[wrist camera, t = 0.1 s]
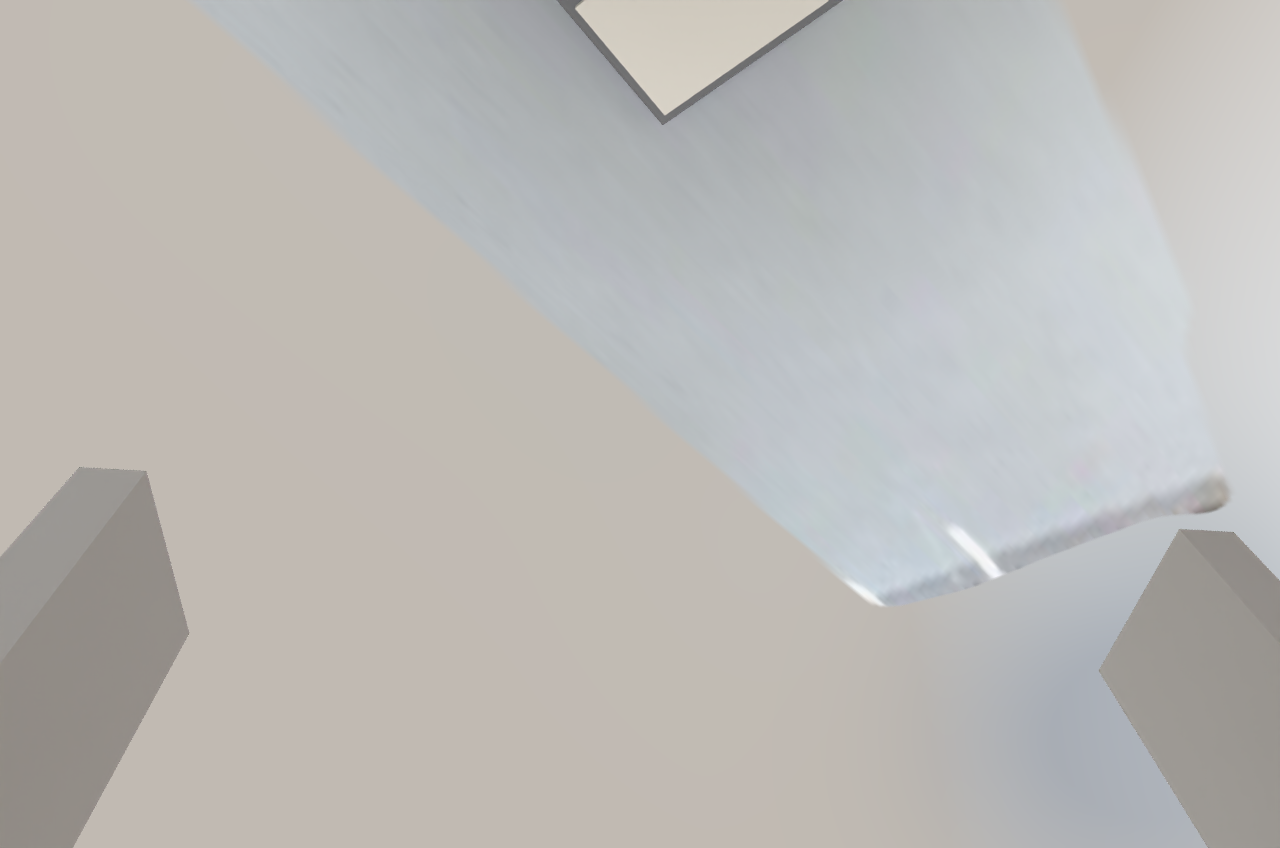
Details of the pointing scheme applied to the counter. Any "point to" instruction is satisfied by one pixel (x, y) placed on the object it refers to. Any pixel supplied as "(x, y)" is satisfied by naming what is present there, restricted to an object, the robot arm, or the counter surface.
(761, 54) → the board
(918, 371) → the counter surface
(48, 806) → the robot arm
